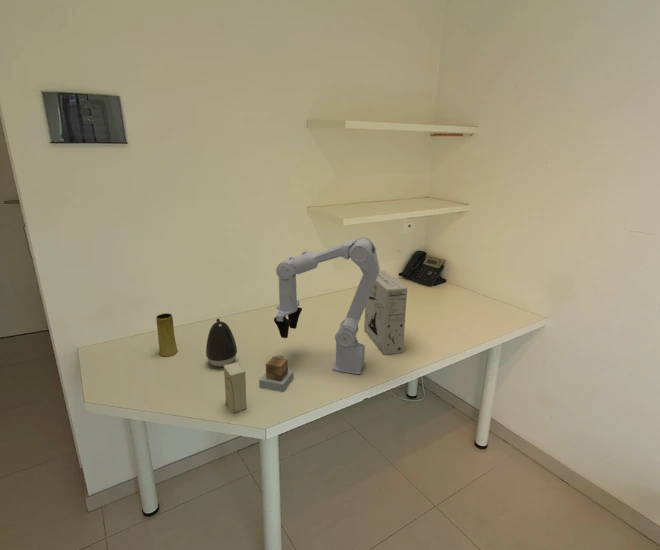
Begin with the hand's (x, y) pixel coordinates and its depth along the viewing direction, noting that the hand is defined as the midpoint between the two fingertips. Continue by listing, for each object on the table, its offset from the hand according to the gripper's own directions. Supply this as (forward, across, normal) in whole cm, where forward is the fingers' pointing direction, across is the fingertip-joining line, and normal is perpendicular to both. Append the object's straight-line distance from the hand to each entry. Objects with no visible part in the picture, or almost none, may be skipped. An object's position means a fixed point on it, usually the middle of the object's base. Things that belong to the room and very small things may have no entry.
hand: (288, 332), depth 138 cm
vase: (+11, +9, -43) cm, 45 cm away
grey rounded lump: (+10, +7, -1) cm, 13 cm away
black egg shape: (+11, +9, -21) cm, 25 cm away
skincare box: (+11, +29, -4) cm, 31 cm away
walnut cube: (+8, +14, +2) cm, 17 cm away
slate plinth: (+11, +14, +2) cm, 18 cm away
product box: (+11, -25, +28) cm, 39 cm away
